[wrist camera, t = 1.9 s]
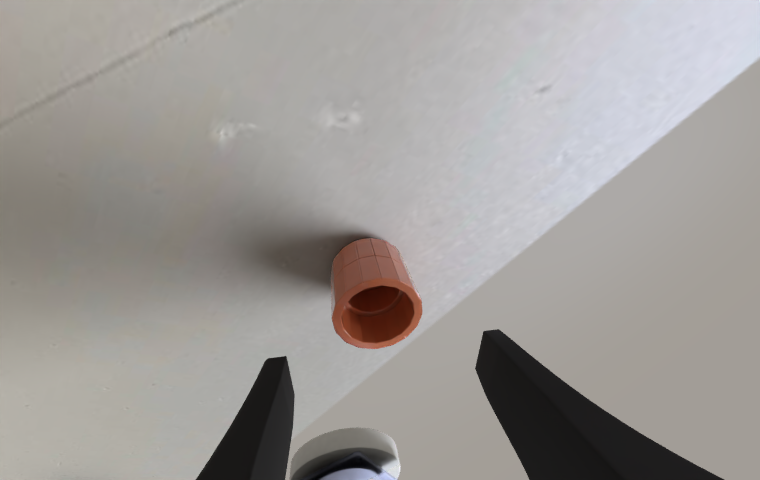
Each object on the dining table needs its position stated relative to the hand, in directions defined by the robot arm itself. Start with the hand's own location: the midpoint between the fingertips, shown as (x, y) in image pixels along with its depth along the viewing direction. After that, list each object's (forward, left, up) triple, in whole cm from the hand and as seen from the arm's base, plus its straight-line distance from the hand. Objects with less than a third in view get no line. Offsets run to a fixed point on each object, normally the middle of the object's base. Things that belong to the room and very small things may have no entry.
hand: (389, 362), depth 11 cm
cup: (0, 0, -7) cm, 7 cm away
